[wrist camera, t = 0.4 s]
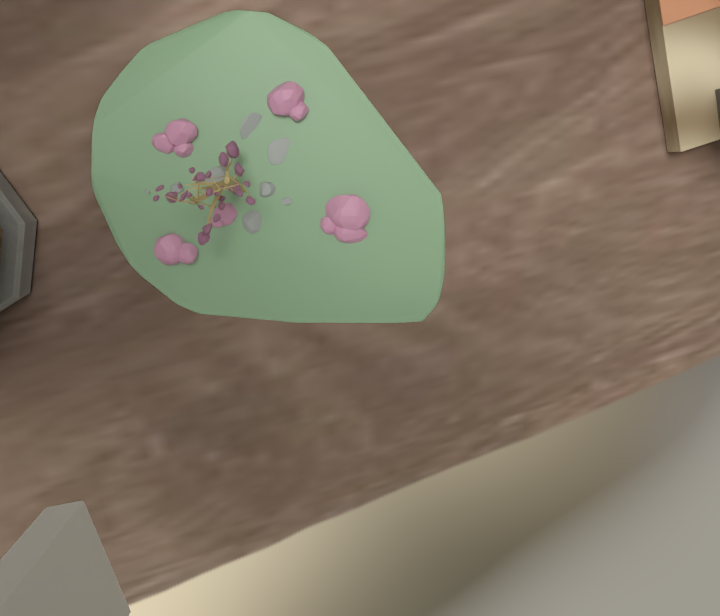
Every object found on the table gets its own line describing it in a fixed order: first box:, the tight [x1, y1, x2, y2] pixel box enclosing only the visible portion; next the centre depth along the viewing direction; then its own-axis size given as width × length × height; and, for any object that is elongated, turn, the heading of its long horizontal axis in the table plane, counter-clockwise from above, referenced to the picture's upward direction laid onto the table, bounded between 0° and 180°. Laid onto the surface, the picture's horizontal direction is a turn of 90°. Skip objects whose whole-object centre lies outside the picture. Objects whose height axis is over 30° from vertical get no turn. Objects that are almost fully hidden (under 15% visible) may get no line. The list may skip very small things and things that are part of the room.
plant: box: [91, 10, 445, 323], centre depth 32 cm, size 25×21×9 cm
